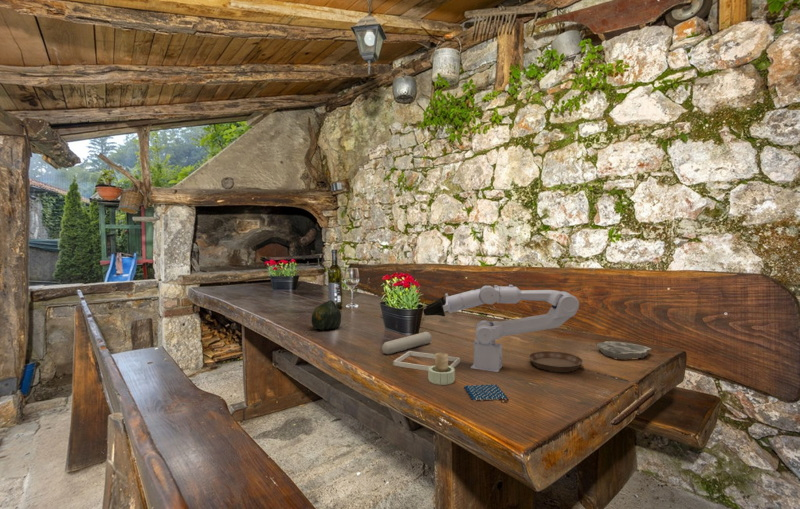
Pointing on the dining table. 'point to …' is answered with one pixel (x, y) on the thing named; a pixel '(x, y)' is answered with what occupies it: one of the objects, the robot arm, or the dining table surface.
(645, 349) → the grey stone slab
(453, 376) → the pale green short ring
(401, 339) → the tube
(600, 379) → the dining table surface
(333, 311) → the squash
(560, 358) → the plant saucer
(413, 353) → the beige rectangular frame
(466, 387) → the woven mat
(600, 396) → the dining table surface
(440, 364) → the dowel pin
